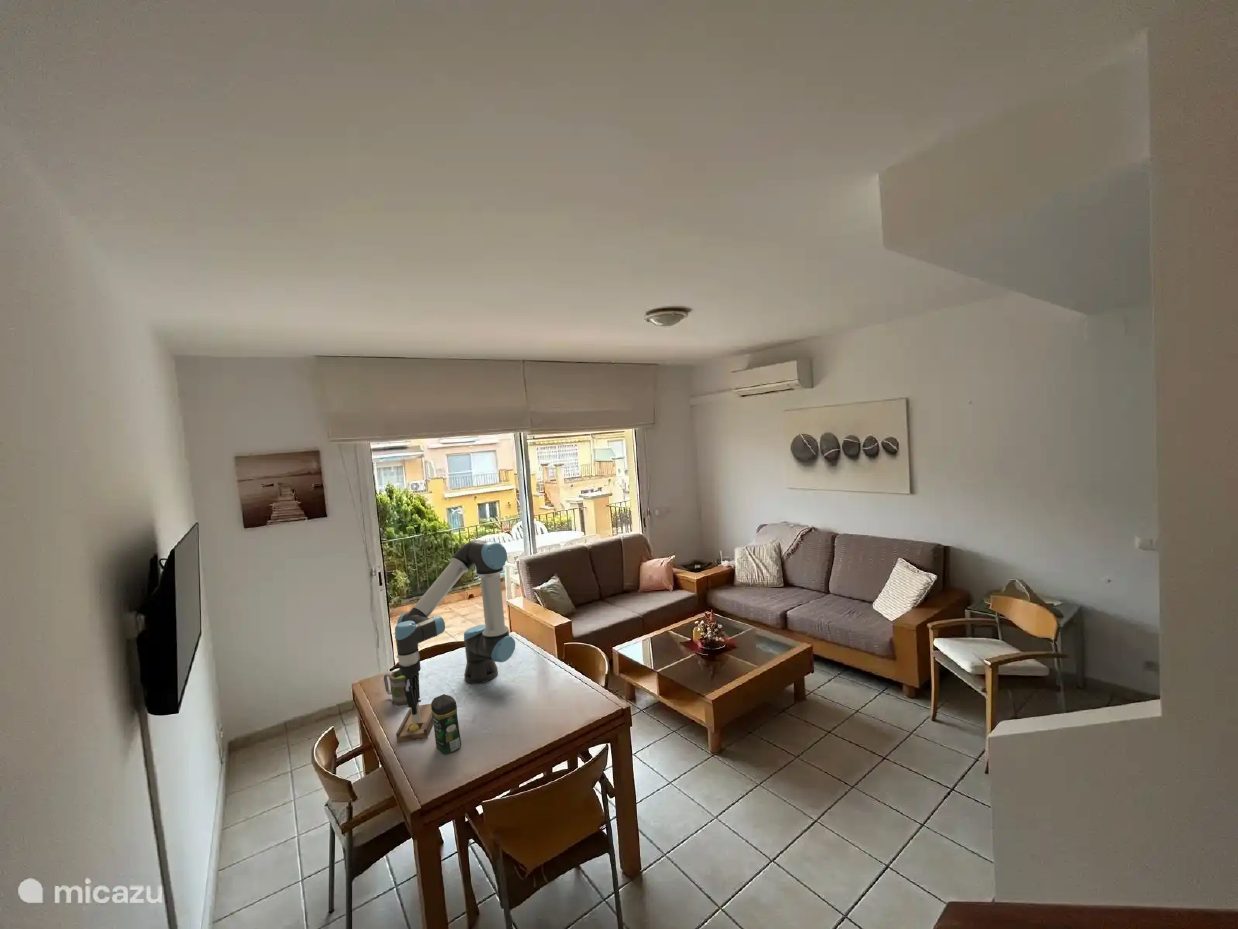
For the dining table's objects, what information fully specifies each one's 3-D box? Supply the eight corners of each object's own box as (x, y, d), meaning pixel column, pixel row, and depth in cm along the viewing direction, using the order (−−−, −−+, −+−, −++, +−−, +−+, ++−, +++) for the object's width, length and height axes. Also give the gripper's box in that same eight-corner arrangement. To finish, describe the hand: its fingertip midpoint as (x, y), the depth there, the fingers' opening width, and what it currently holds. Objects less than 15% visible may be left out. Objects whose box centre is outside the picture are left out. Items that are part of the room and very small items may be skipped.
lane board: (440, 708, 219) (439, 699, 219) (427, 738, 197) (426, 729, 197) (413, 711, 218) (412, 703, 218) (397, 743, 196) (395, 734, 196)
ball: (420, 727, 204) (418, 721, 203) (418, 735, 201) (417, 729, 199) (410, 728, 204) (409, 722, 202) (409, 737, 200) (407, 730, 199)
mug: (424, 694, 232) (420, 668, 232) (406, 707, 222) (403, 680, 221) (395, 691, 238) (392, 665, 237) (377, 704, 227) (374, 677, 227)
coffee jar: (433, 747, 192) (427, 698, 190) (453, 737, 197) (448, 689, 195) (443, 758, 184) (437, 707, 183) (464, 748, 189) (458, 698, 188)
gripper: (404, 656, 208) (411, 713, 210) (394, 671, 195) (401, 731, 197) (423, 653, 209) (430, 710, 211) (414, 668, 196) (422, 728, 198)
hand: (416, 720), depth 204 cm, fingers closed
